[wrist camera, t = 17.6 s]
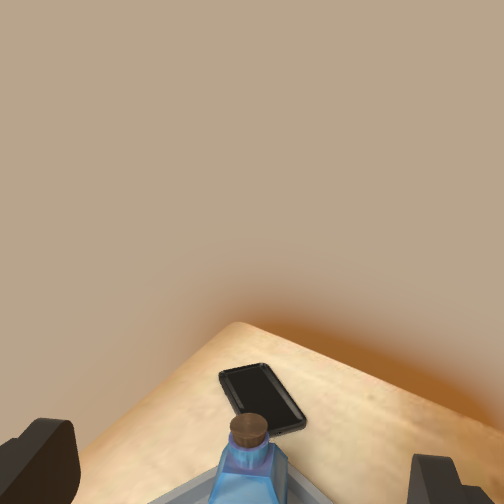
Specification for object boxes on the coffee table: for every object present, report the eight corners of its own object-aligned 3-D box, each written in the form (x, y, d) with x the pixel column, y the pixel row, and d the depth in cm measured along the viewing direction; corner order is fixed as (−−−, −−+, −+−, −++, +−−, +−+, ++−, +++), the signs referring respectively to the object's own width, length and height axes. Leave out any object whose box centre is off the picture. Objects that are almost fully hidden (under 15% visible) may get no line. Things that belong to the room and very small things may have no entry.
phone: (265, 361, 69) (309, 422, 56) (265, 367, 69) (309, 429, 56) (216, 371, 67) (249, 437, 53) (216, 378, 67) (249, 445, 53)
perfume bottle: (210, 561, 39) (203, 448, 35) (224, 502, 45) (220, 399, 41) (281, 571, 38) (282, 455, 34) (287, 509, 44) (288, 404, 40)
